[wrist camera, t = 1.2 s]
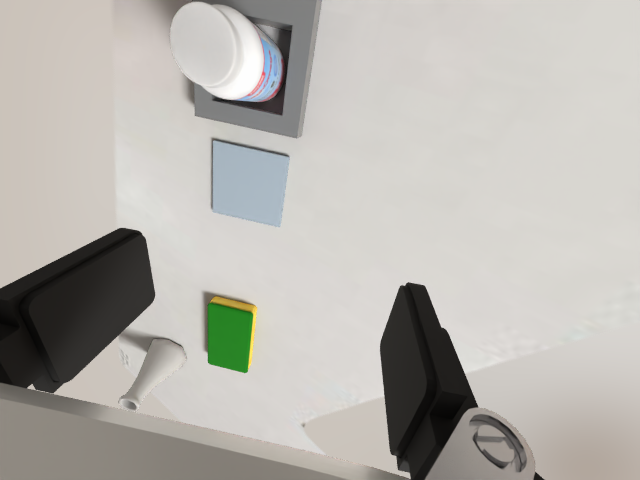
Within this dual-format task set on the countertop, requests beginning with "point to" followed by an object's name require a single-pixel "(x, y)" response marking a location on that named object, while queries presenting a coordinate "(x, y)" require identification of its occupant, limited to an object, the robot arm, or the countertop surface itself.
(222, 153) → the slate mat
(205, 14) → the pill bottle
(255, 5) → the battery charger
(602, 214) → the countertop surface
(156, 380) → the flask
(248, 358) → the dish sponge
